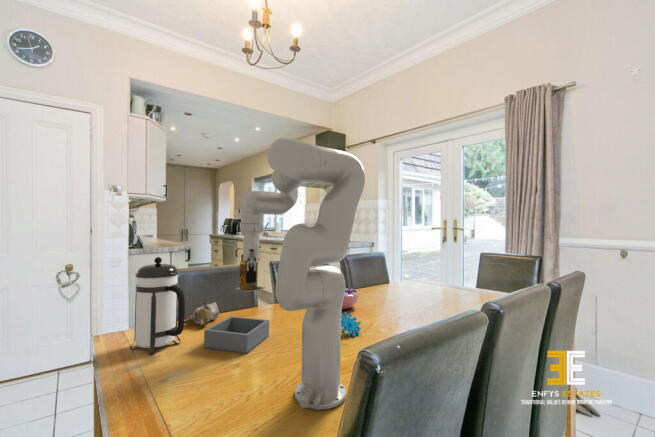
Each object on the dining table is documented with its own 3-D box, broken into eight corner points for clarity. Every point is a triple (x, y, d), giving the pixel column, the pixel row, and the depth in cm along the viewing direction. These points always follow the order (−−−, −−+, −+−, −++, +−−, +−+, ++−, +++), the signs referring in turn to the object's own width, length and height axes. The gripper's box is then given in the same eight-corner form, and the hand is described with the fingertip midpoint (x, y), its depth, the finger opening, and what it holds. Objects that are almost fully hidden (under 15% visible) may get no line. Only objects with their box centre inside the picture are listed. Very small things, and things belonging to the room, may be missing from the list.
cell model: (365, 306, 157) (366, 284, 157) (347, 315, 140) (347, 291, 140) (337, 301, 166) (337, 280, 166) (316, 309, 149) (317, 286, 149)
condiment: (234, 288, 105) (235, 254, 105) (255, 285, 111) (256, 252, 111) (245, 292, 100) (246, 256, 100) (267, 288, 106) (267, 254, 106)
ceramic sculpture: (225, 299, 132) (201, 310, 118) (226, 318, 132) (202, 332, 118) (205, 297, 135) (179, 308, 121) (205, 316, 135) (180, 329, 121)
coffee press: (120, 359, 92) (123, 260, 93) (138, 340, 108) (140, 255, 108) (183, 353, 97) (185, 259, 97) (191, 335, 112) (193, 254, 113)
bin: (247, 354, 97) (247, 335, 97) (203, 348, 101) (204, 330, 101) (269, 336, 113) (269, 320, 113) (230, 331, 117) (231, 316, 117)
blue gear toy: (345, 335, 110) (336, 311, 116) (336, 343, 113) (328, 319, 119) (367, 334, 116) (357, 311, 123) (359, 341, 119) (350, 318, 126)
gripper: (241, 227, 113) (240, 276, 113) (240, 229, 96) (238, 286, 96) (262, 228, 115) (260, 275, 114) (264, 229, 98) (263, 285, 98)
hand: (250, 280), depth 105 cm, fingers closed on condiment, 6 cm apart
